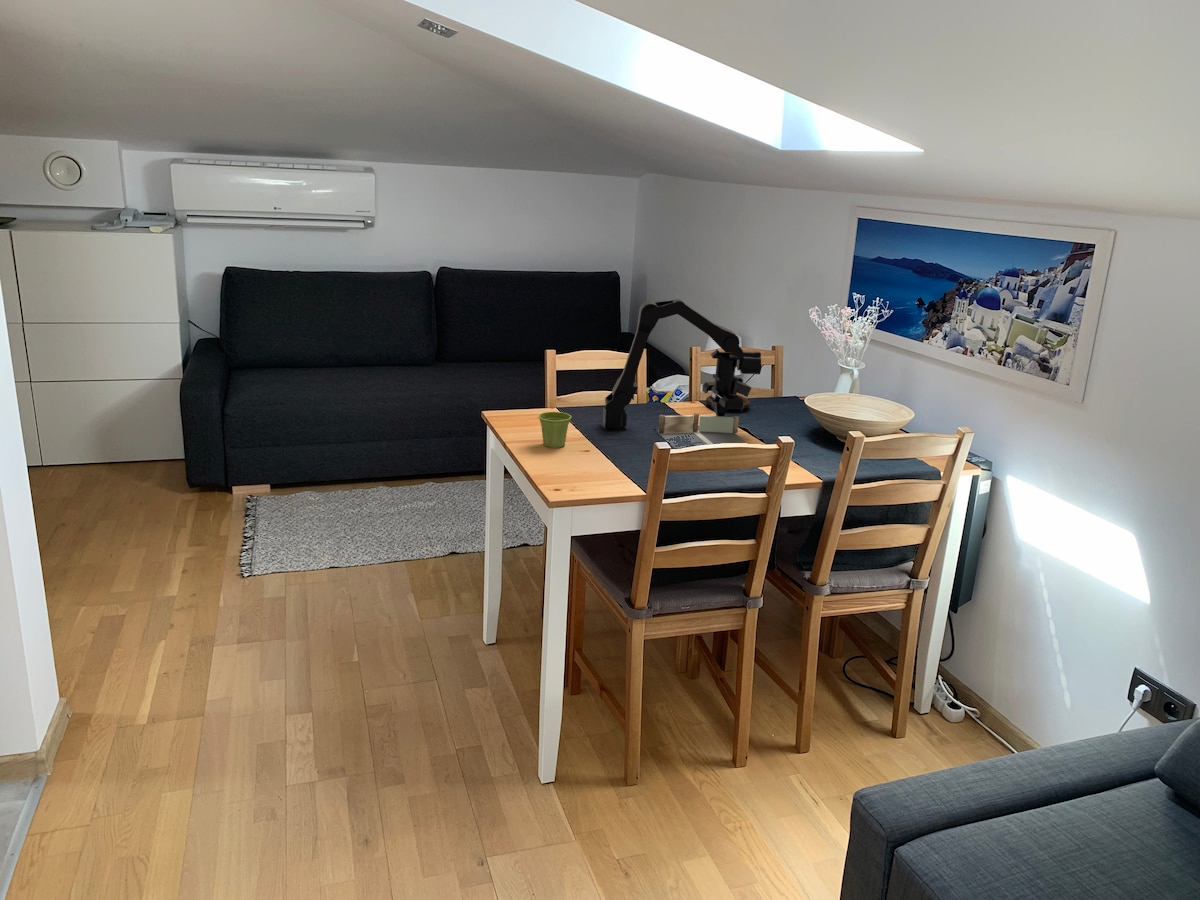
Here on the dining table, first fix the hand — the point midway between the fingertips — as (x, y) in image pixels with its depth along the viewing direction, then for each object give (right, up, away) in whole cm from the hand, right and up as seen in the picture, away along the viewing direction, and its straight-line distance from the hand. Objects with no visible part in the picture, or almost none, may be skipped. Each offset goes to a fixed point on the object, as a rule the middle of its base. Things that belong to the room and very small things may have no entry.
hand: (719, 421), depth 285 cm
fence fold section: (-1, -3, -1) cm, 3 cm away
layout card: (-6, -5, -6) cm, 10 cm away
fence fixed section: (-13, -3, -3) cm, 14 cm away
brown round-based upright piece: (+6, +6, +30) cm, 31 cm away
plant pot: (-50, -8, -20) cm, 55 cm away
